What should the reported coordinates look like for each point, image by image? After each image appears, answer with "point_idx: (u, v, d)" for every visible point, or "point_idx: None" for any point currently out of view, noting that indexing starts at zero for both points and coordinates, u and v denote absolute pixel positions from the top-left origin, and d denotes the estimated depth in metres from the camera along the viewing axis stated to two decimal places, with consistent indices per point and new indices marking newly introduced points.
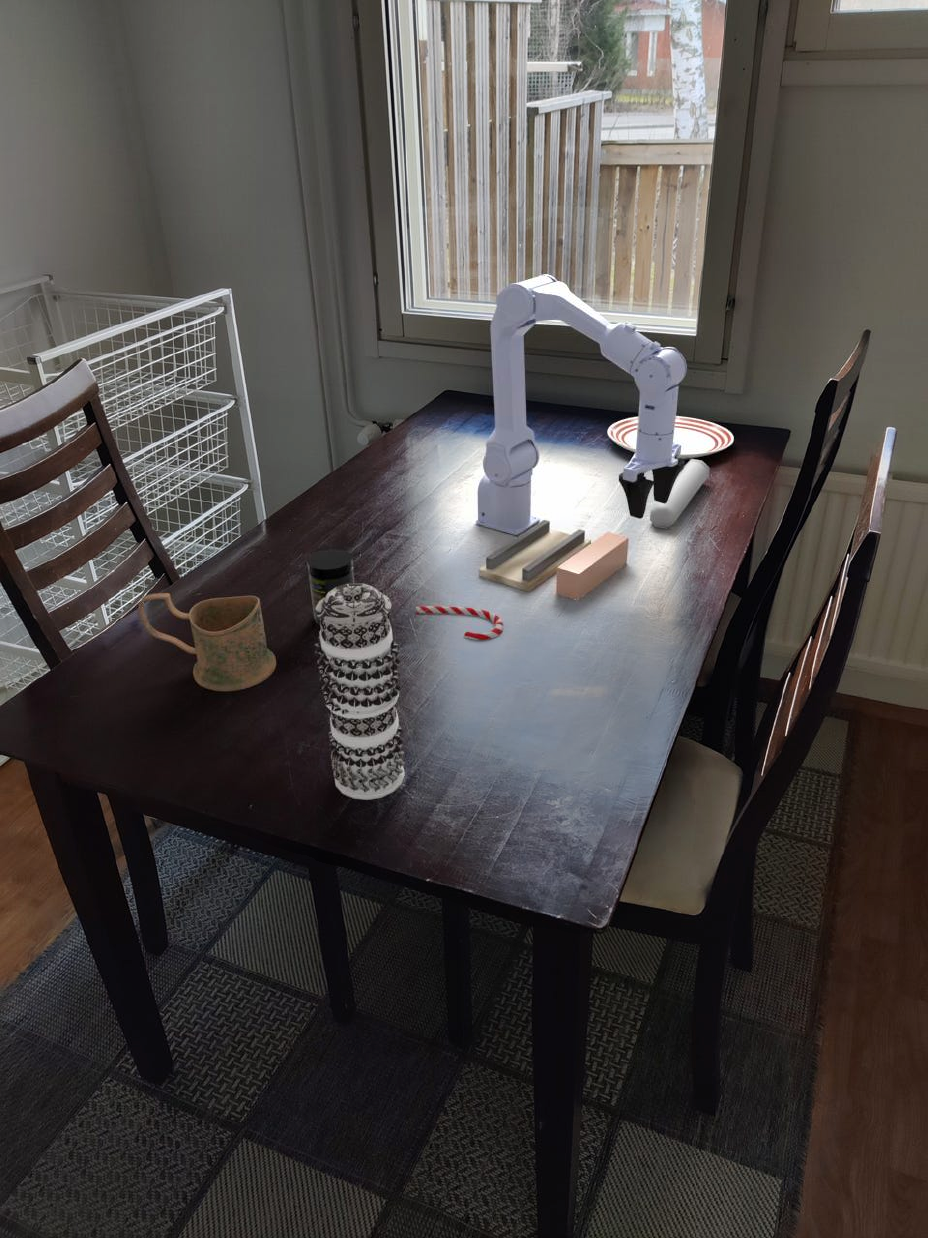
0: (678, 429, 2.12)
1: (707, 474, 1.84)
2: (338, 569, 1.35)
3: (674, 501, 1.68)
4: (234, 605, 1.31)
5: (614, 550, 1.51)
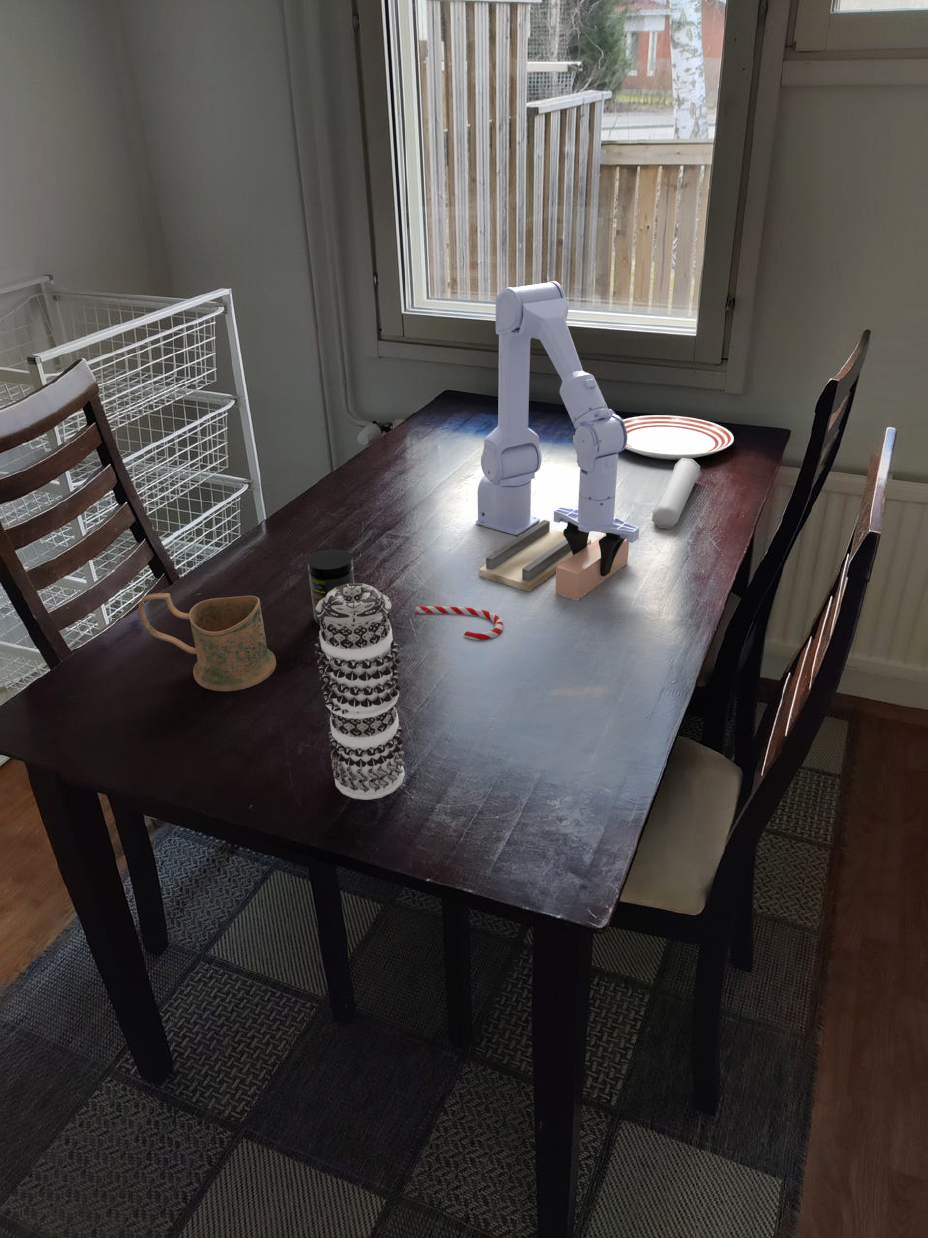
0: (678, 429, 2.12)
1: (698, 472, 1.85)
2: (338, 569, 1.35)
3: (675, 501, 1.68)
4: (234, 605, 1.31)
5: None
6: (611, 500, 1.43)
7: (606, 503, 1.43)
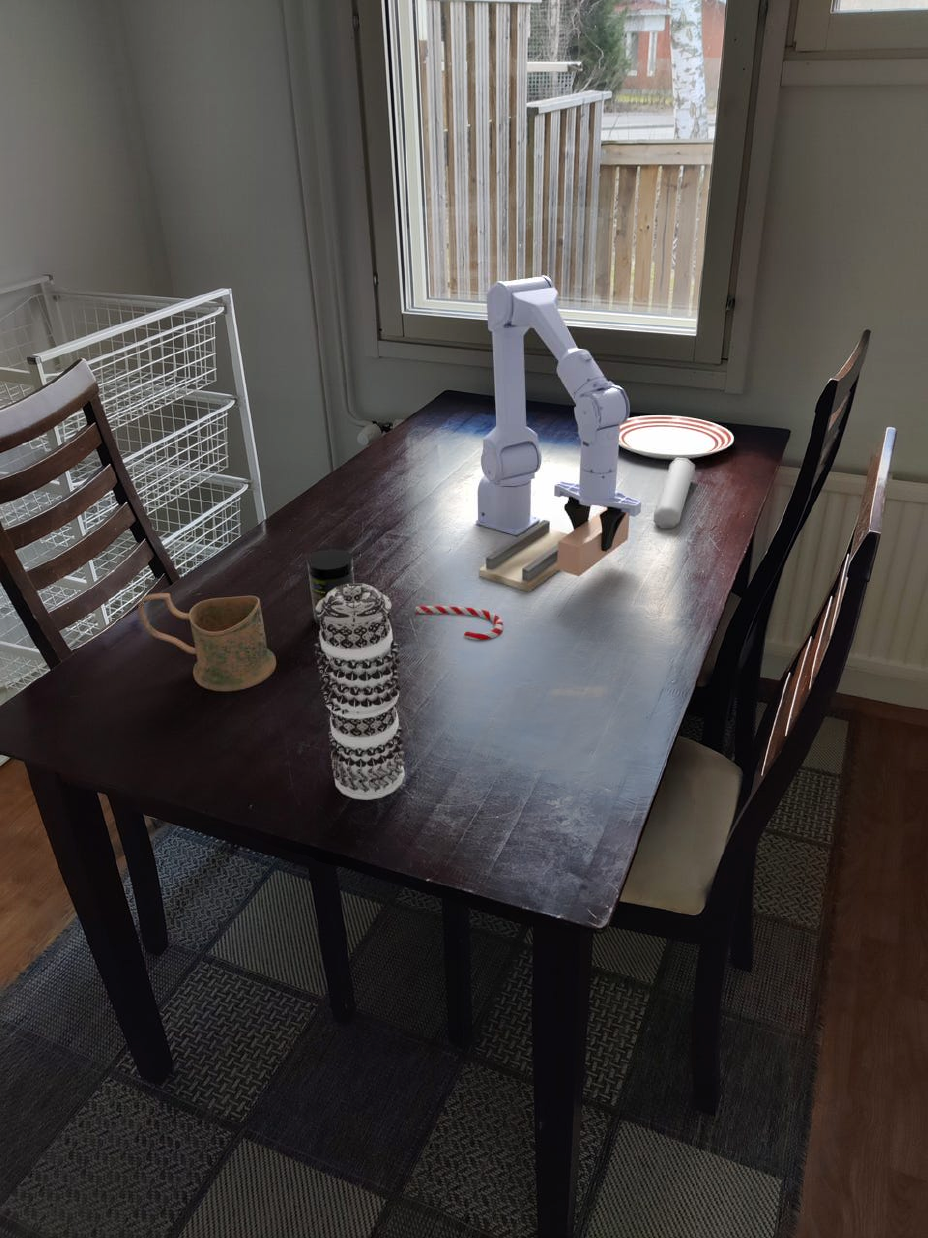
0: (678, 429, 2.12)
1: (693, 471, 1.85)
2: (338, 569, 1.35)
3: (676, 501, 1.69)
4: (234, 605, 1.31)
5: None
6: (613, 473, 1.41)
7: (608, 476, 1.40)
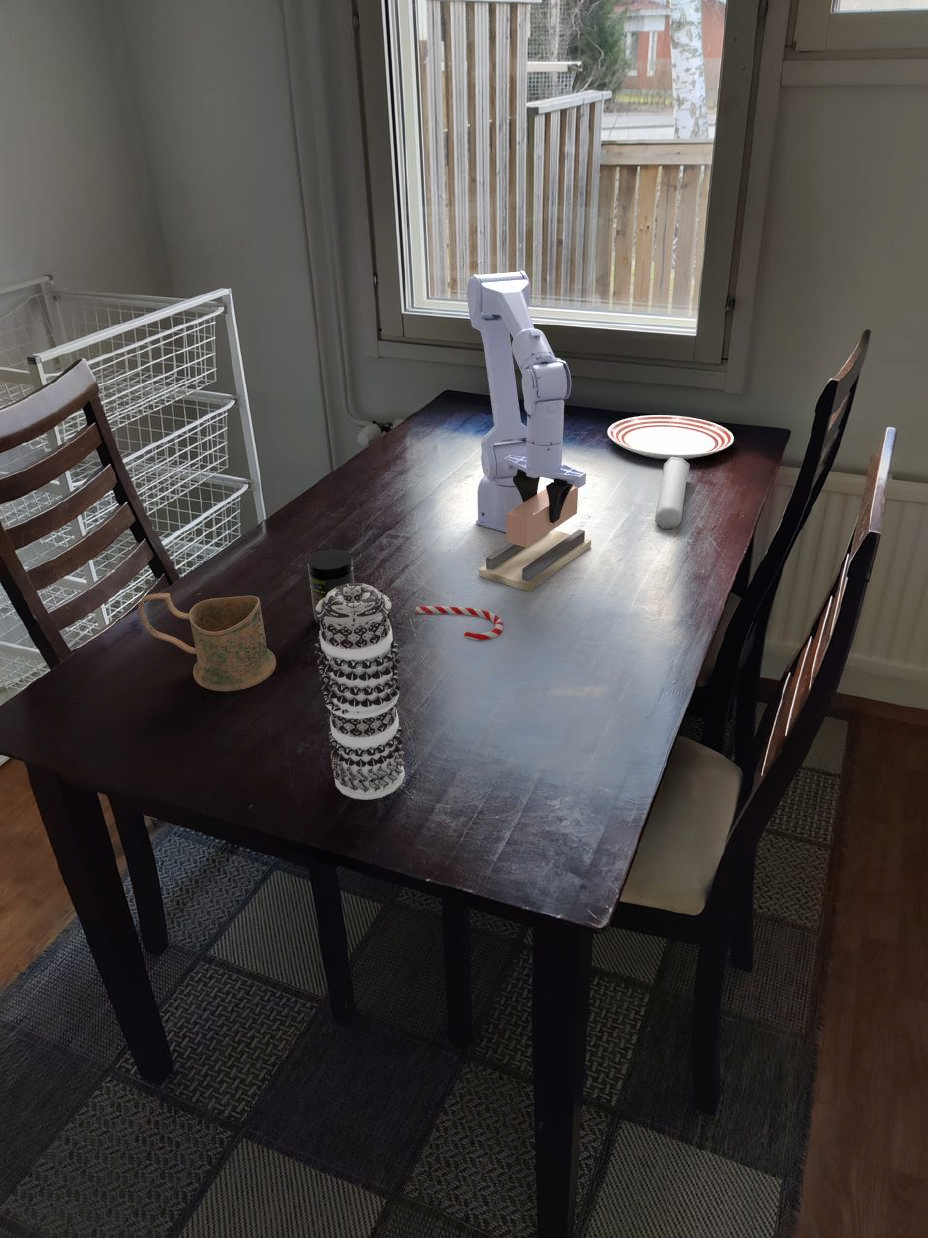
0: (678, 429, 2.12)
1: (688, 471, 1.85)
2: (338, 569, 1.35)
3: (677, 501, 1.69)
4: (234, 605, 1.31)
5: None
6: (558, 445, 1.45)
7: (553, 448, 1.44)
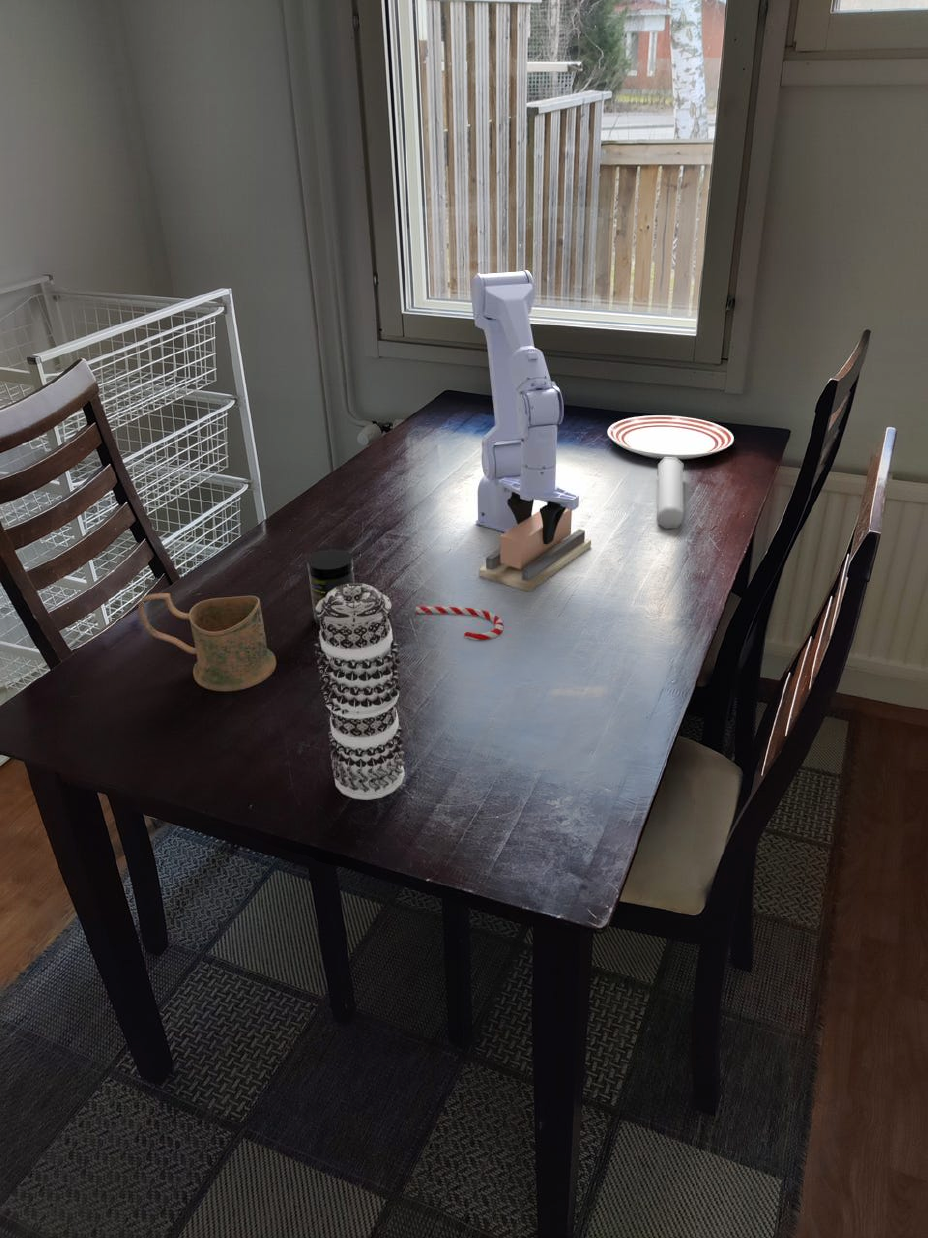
0: (678, 429, 2.12)
1: None
2: (339, 569, 1.35)
3: (677, 500, 1.69)
4: (234, 605, 1.31)
5: None
6: (551, 469, 1.47)
7: (546, 472, 1.47)
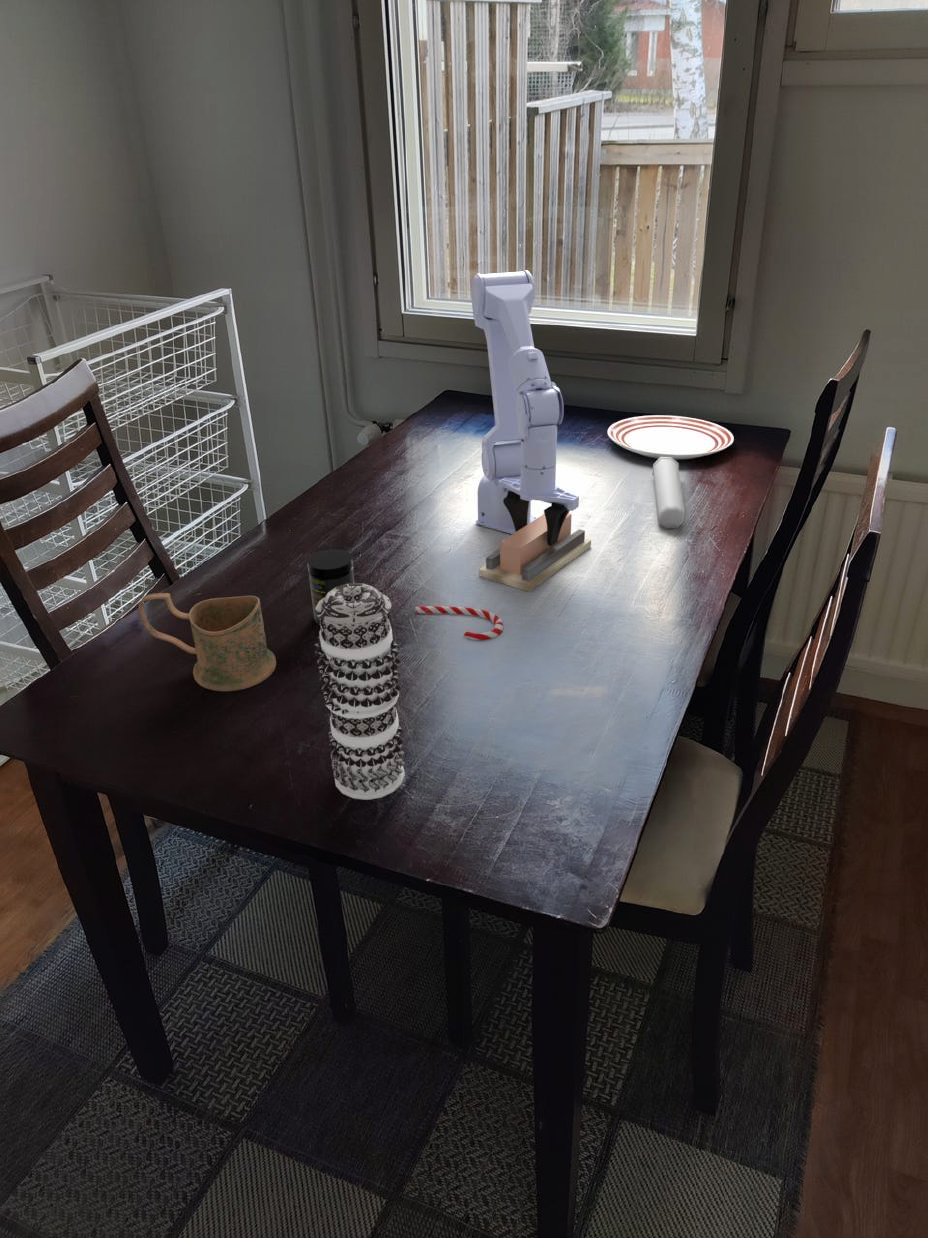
0: (678, 429, 2.12)
1: None
2: (338, 569, 1.35)
3: (678, 500, 1.69)
4: (234, 605, 1.31)
5: None
6: (551, 469, 1.47)
7: (546, 472, 1.47)
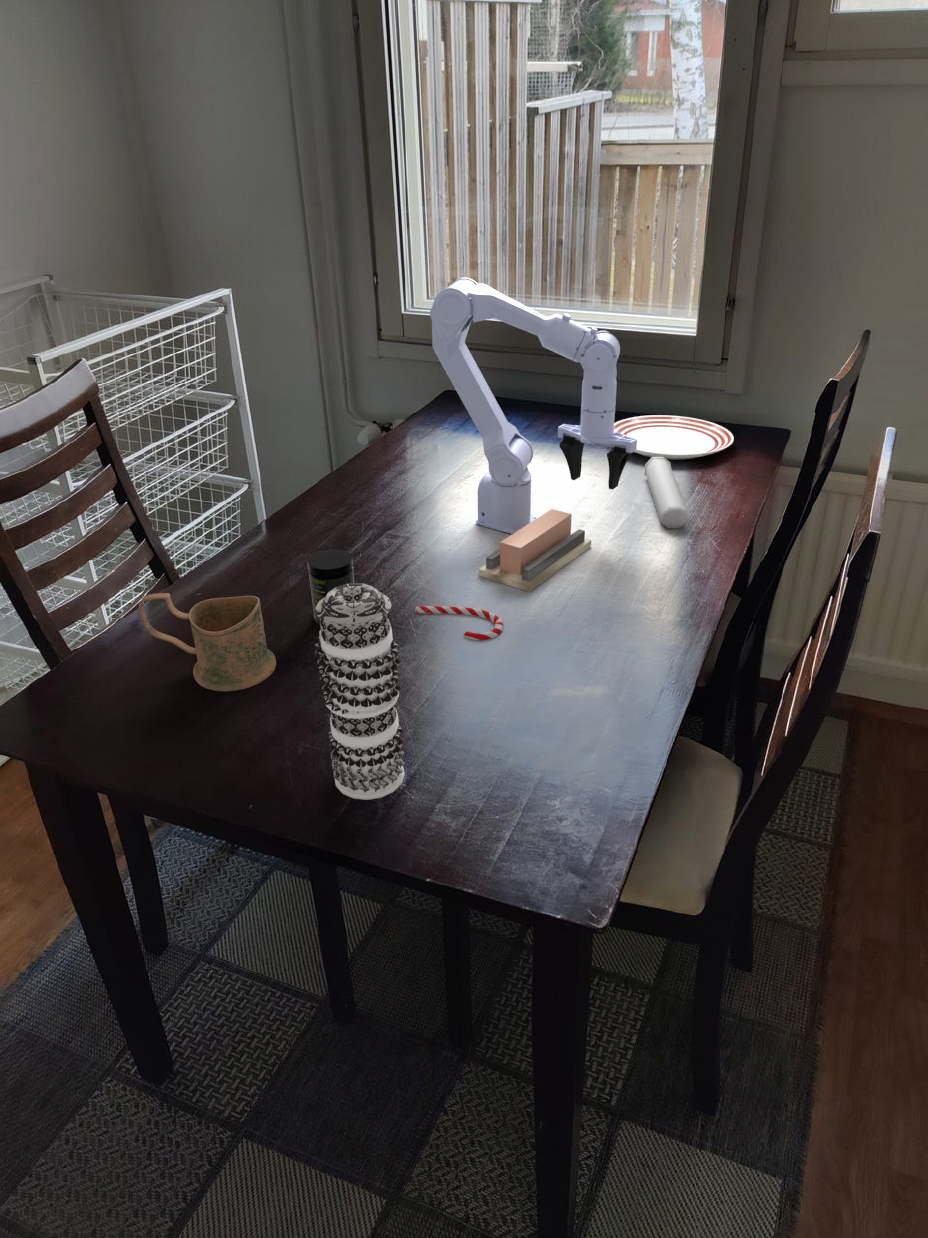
0: (678, 429, 2.12)
1: None
2: (338, 569, 1.35)
3: (679, 500, 1.69)
4: (234, 605, 1.31)
5: (556, 525, 1.56)
6: (611, 413, 1.54)
7: (606, 416, 1.54)
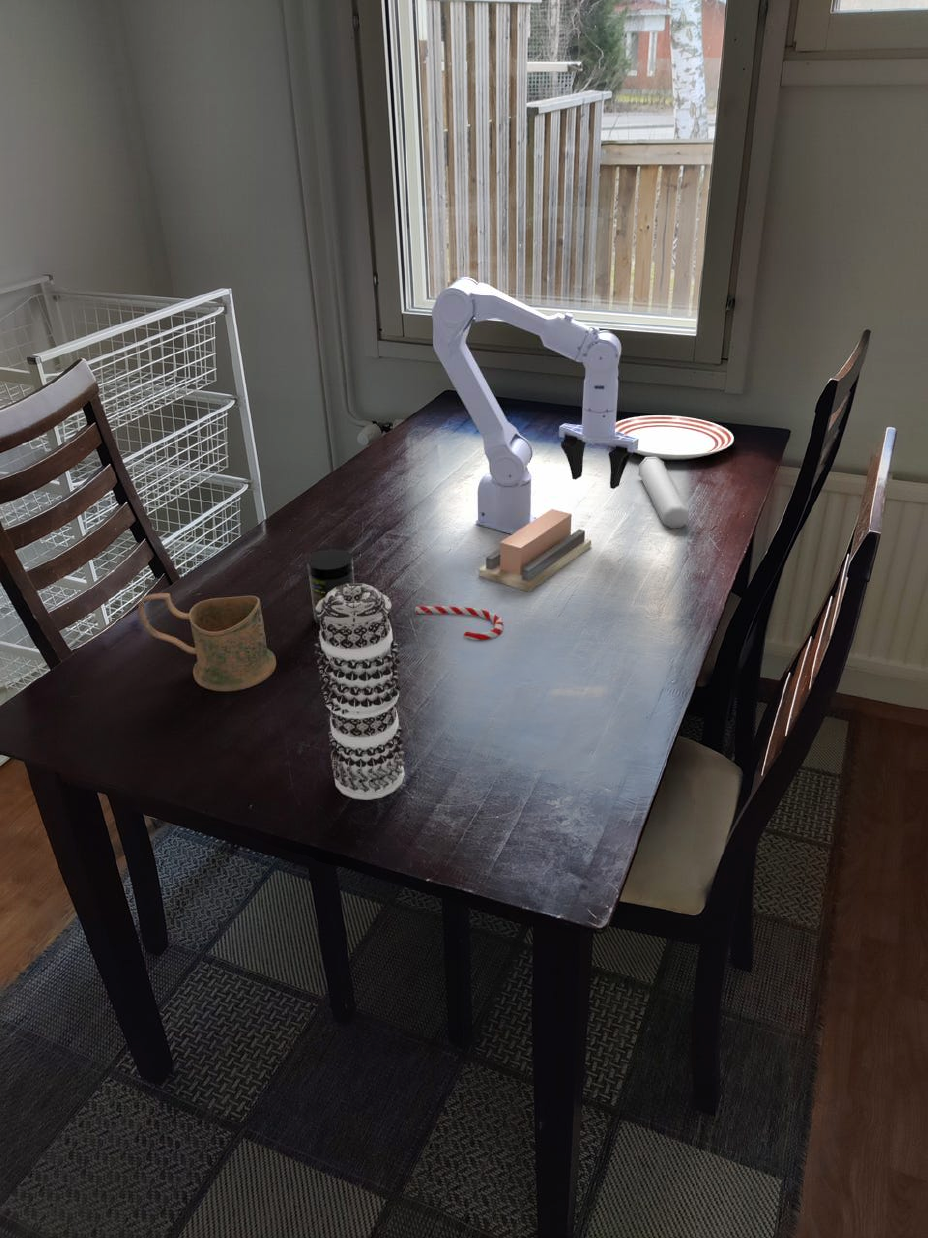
0: (678, 429, 2.12)
1: None
2: (338, 569, 1.35)
3: (679, 500, 1.69)
4: (234, 605, 1.31)
5: (556, 525, 1.56)
6: (612, 412, 1.55)
7: (608, 415, 1.54)
